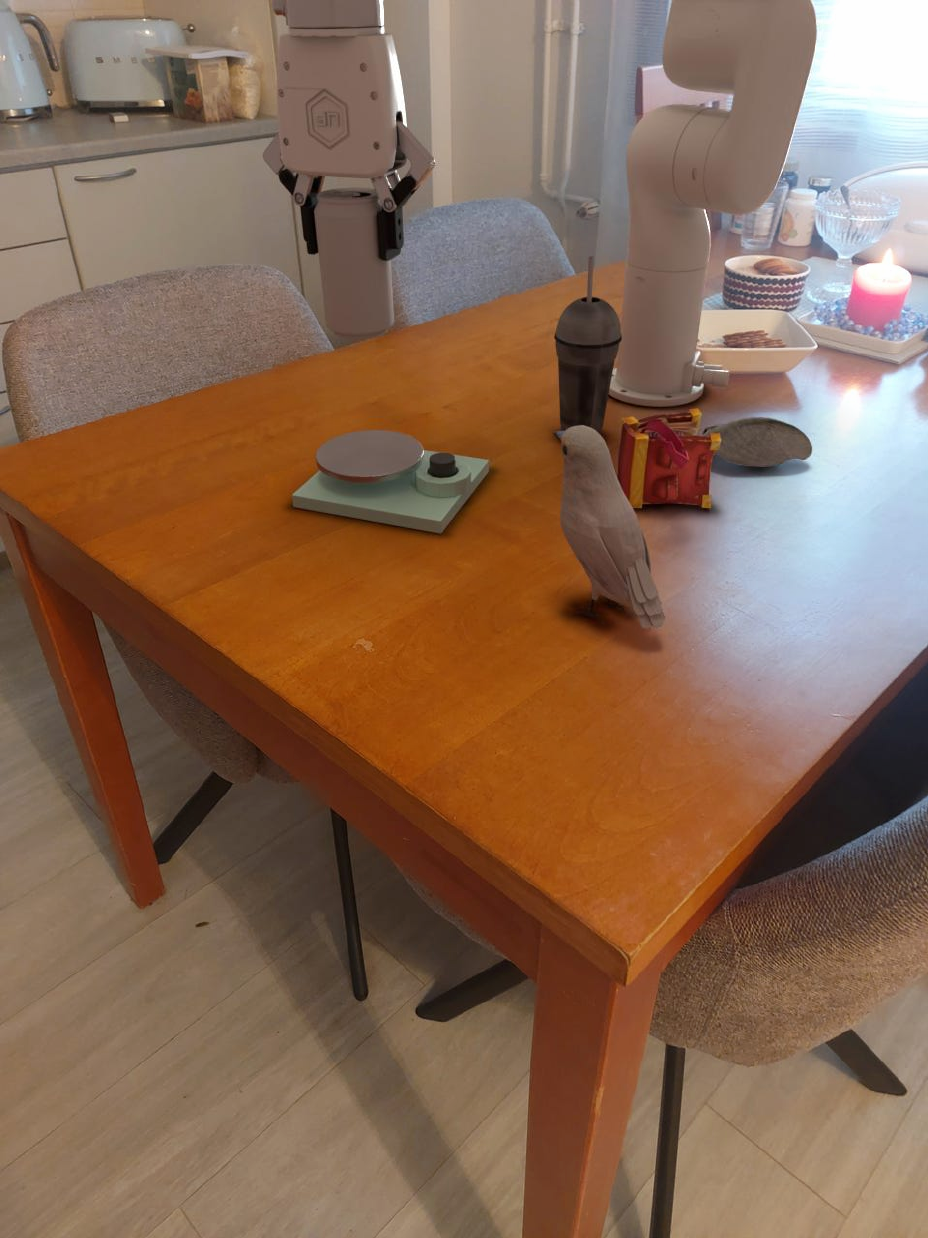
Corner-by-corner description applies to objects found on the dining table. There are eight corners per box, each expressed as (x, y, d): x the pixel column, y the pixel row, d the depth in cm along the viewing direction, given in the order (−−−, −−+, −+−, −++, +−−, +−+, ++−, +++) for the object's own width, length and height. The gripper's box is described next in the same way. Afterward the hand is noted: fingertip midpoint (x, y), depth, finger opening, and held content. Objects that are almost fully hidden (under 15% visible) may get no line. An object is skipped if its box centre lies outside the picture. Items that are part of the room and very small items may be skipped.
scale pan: (440, 444, 94) (439, 437, 94) (397, 490, 86) (397, 483, 85) (346, 430, 97) (345, 424, 97) (296, 473, 89) (295, 466, 88)
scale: (491, 472, 95) (491, 446, 94) (443, 534, 85) (442, 506, 83) (354, 450, 100) (352, 425, 98) (293, 507, 90) (289, 480, 88)
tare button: (459, 470, 90) (459, 454, 89) (450, 481, 88) (449, 465, 87) (435, 466, 91) (435, 450, 90) (425, 477, 89) (425, 461, 88)
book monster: (698, 477, 93) (720, 541, 84) (611, 479, 94) (624, 543, 85) (712, 381, 87) (738, 440, 77) (618, 383, 87) (633, 442, 78)
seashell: (800, 446, 100) (810, 403, 97) (814, 479, 93) (825, 435, 90) (692, 441, 101) (698, 399, 98) (698, 474, 94) (705, 430, 91)
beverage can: (391, 341, 81) (383, 198, 74) (321, 342, 81) (306, 199, 74) (397, 320, 86) (390, 184, 80) (331, 320, 87) (318, 185, 80)
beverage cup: (618, 427, 104) (635, 247, 93) (605, 453, 99) (622, 265, 87) (557, 420, 106) (567, 243, 95) (542, 445, 101) (550, 260, 89)
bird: (567, 564, 80) (577, 405, 72) (678, 636, 71) (706, 464, 63) (525, 582, 78) (530, 420, 69) (634, 658, 69) (656, 484, 60)
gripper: (213, 14, 69) (248, 256, 80) (419, 14, 64) (427, 272, 75) (263, 11, 75) (290, 237, 85) (456, 10, 70) (459, 251, 80)
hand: (354, 252), depth 80 cm, fingers closed on beverage can, 6 cm apart
